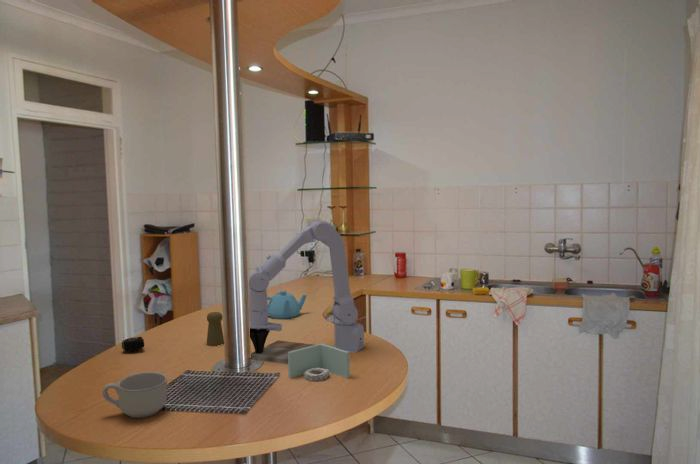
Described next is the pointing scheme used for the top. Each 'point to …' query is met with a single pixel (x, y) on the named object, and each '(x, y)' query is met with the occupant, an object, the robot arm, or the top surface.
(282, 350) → the grey oak plank
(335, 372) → the l-shaped corner panel
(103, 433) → the top surface
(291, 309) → the teapot
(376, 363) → the top surface
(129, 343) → the tape measure
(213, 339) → the brown tall rounded piece
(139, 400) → the teacup
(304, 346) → the walnut floor row
